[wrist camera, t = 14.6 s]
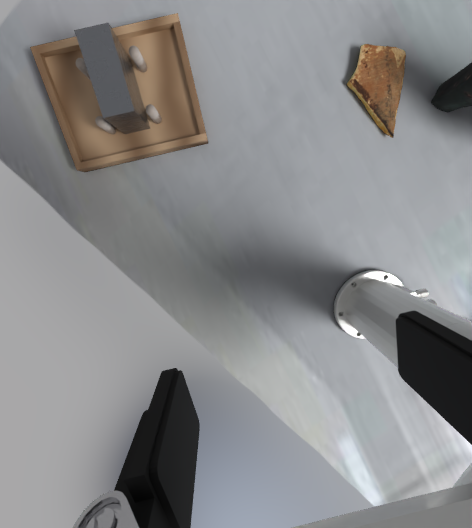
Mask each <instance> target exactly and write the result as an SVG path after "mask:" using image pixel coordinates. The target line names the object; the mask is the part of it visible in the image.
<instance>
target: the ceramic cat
mask: <svg viewBox="0 0 472 528" xmlns="http://www.w3.org/2000/svg"><path fill="white" fill-rule="evenodd" d="M431 103H432V104H433V105H434V106H435V107H436V108H438V109H440V110H442V111H445V112H450V111H453V110H455V109H459V108H462V107H468V106H472V63H470V64H469V65H468V66H466V67H465V68H464V69H462V70H461V71H460V72H458V73H457V74H455V75H454V76H453V77H451V78H450V79H448V80H447V81H445V82H444V83H442V84H441V86H440V87H439V89H438V91H437V93H436V96H435V97H434V98H433V100H432V102H431Z"/></svg>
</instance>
